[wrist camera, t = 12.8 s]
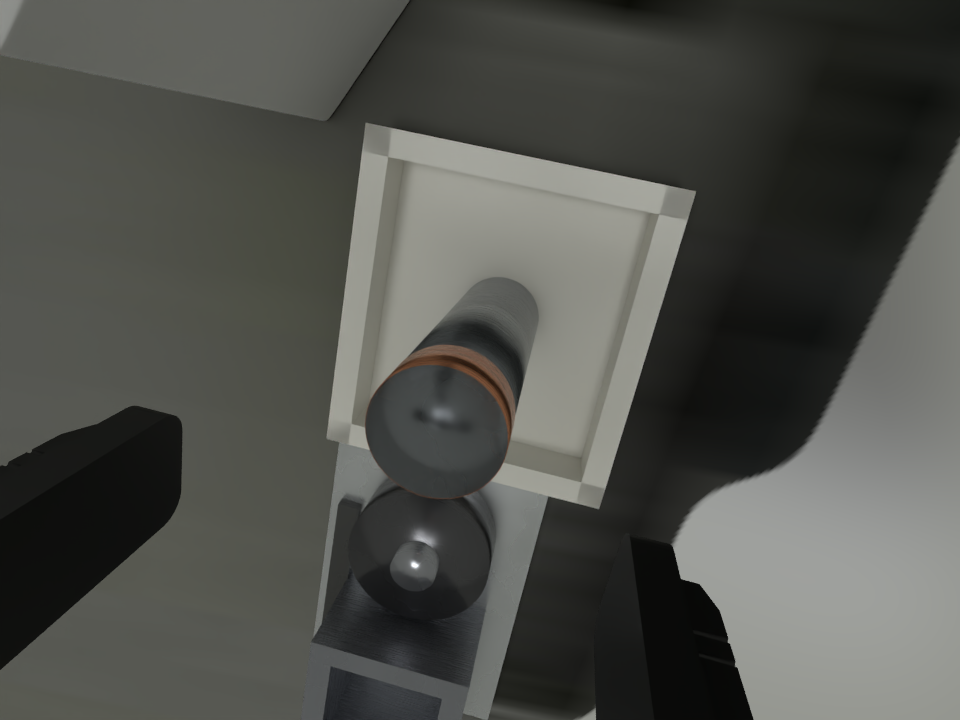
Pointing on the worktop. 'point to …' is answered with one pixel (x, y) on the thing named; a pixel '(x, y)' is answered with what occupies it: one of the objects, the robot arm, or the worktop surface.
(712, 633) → the robot arm
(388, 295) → the tray
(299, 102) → the milk carton
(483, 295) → the lock pin
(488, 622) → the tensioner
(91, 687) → the worktop surface
